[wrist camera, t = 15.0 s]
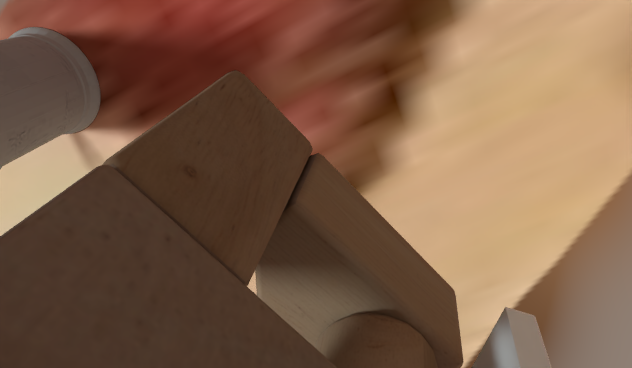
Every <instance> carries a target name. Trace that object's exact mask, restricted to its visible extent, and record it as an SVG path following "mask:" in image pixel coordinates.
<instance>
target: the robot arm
mask: <svg viewBox="0 0 632 368" xmlns="http://www.w3.org/2000/svg"><path fill="white" fill-rule="evenodd" d="M472 368H551V365H550V361H549V358H548V355H547V352H546V349H545V346H544V343H543V340H542V337H541V333H540V330H539V327H538V324H537V321H536V318H535V316H534V315H530V314H527V313H524V312H520V311H517V310H514V309H510V308H507V307H505V309H504V311H503V312H502V314H501V316H500V318H499V320H498V321H497V323H496V325H495V327H494V328H493V330H492V332H491V334H490V336H489V337H488V339H487V341H486V343H485V345H484V346H483V348H482V350H481V352H480V353H479V355H478V357H477V359H476V361H475V362H474V364H473V366H472Z"/></svg>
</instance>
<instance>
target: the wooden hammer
mask: <svg viewBox="0 0 632 368" xmlns="http://www.w3.org/2000/svg"><path fill="white" fill-rule="evenodd" d="M312 150H313V149H312V146H311V144H310V142H309V141H308V140H307V139H306V137H305V136H304V135H303V134H302V133H301V132H300V131H299V130H298V129H297V128H296V127H295V126H294V125H293V124H292V123H291V122H290V121H289V120H288V119H287V118H286V117H285V116H284V115H283V114H282V113H281V112H280V111H279V110H278V109H277V108H276V107H275V106H274V105H273V104H272V103H271V102H270V101H269V100H268V99H267V98H266V96H265V95H264V94H263V93H262V92H261V91H260V90H259V89H258V88H257V87H256V86H255V85H254V84H253V83H252V82H251V81H250V80H249V79H248V78H247V77H246V76H245V75H244V74H242V73H241V72H239V71H237V70H234V71H232V72H229V73H227V74H226V75H224V76H223V77H221V78H220V79H219V80H217V81H216V82H214V83H213V84H212V85H210V86H209V87H207V88H206V89H205V90H203V91H202V92H201V93H199V94H198V95H196V96H195V97H194V98H192V99H191V100H189V101H188V102H187V103H185V104H184V105H182V106H181V107H180V108H178V109H177V110H175V111H174V112H173V113H171V114H170V115H168V116H167V117H166V118H164V119H163V120H161V121H160V122H159V123H157V124H156V125H154V126H153V127H152V128H150V129H149V130H148V131H146V132H145V133H143V134H142V135H141V136H139V137H138V138H136V139H135V140H134V141H132V142H131V143H129V144H128V145H127V146H125V147H124V148H122V149H121V150H120V151H118V152H117V153H115V154H114V155H113V156H111V157H110V158H108V159H107V160H106V161H105V162H104V164H103V165H102V166H99V167H96V168H95V169H94V170H92V171H91V172H89V173H88V174H87V175H85V176H84V177H82V178H81V179H80V180H78V181H77V182H75V183H74V184H73V185H71V186H70V187H68V188H67V189H66V190H64V191H63V192H62V193H60V194H59V195H57V196H56V197H55V198H53V199H52V200H50V201H49V202H48V203H46V204H45V205H43V206H42V207H41V208H39V209H38V210H36V211H35V212H34V213H32V214H31V215H29V216H28V217H27V218H25V219H24V220H23V221H21V222H20V223H18V224H17V225H16V226H14V227H13V228H11V229H10V230H9V231H7V232H6V233H4V234H3V235H2V236H0V368H460V367H461V366H462V364H463V354H462V346H461V337H460V329H459V321H458V312H457V304H456V296H455V292H454V290H453V289H452V287H451V286H450V285H449V284H448V283H447V282H446V281H445V280H444V279H443V278H442V277H441V276H440V275H439V274H438V273H437V272H436V271H435V270H434V269H433V268H432V267H431V266H430V265H429V264H428V263H427V262H426V261H425V260H424V259H423V258H422V257H421V256H420V255H419V254H418V253H417V252H416V251H415V250H414V249H413V247H412V246H411V245H410V244H409V243H408V242H407V241H406V240H405V239H404V238H403V237H402V236H401V235H400V234H399V233H398V232H397V231H396V230H395V229H394V228H393V227H392V226H391V225H390V224H389V223H388V222H387V221H386V220H385V219H384V218H383V217H382V216H381V215H380V214H379V213H378V212H377V211H376V210H375V209H374V208H373V207H372V206H371V204H370V203H369V202H368V201H367V200H366V199H365V198H364V197H363V196H362V195H361V194H360V193H359V192H358V191H357V190H356V189H355V188H354V187H353V186H352V185H351V184H350V183H349V182H348V181H347V180H346V179H345V178H344V177H343V176H342V175H341V174H340V173H339V172H338V171H337V170H336V169H335V168H334V167H333V166H332V165H331V164H330V162H329V161H328V160H327V159H326V158H325V157H324V156H322V155H321V154H319V153H317V154H314V155H311V156H310V154H311V152H312ZM309 156H310V157H309ZM254 271H255V272H256V288H257V295H256V294H255V293H253V292H252V291H251V290H250V289H249V288H248V287H247V285H248V284H249V281H250V279H251V277H252V275H253V273H254Z"/></svg>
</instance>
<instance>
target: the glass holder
mask: <svg viewBox="0 0 632 368" xmlns="http://www.w3.org/2000/svg"><path fill="white" fill-rule="evenodd" d="M99 106H100V87H99V82H98V79H97V76H96V73H95V71H94V69H93V67H92V65H91V63H90V62H89V60H88V59H87V57H86V56H85V55H84V53H83V52H82V51H81V50H80V49H79V48H78V47H77V46H76V45H75V44H74V43H73V42H71V41H70V40H69V39H67V38H66V37H64V36H63V35H61V34H59V33H57V32H55V31H53V30H50V29H46V28H41V27H30V28H24V29H22V30H19V31H17V32H15V33H14V34H13V35H11V36H10V37H9V38H8V39H5V40H0V169H1V168H2V166H4V165H6V164H8V163H9V162H11V161H13V160H15V159H17V158H19V157H21V156H23V155H24V154H26V153H28V152H30V151H32V150H34V149H36V148H38V147H39V146H41V145H43V144H45V143H47V142H49V141H51V140H53V139H54V138H56V137H58V136H60V135H62V134H72V133H76V132H79V131H82V130H83V129H85V128H87V127H88V126H89V125H90V124H91V123H92V122H93V120H94V119H95V117H96V116H97V113H98V111H99Z"/></svg>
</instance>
